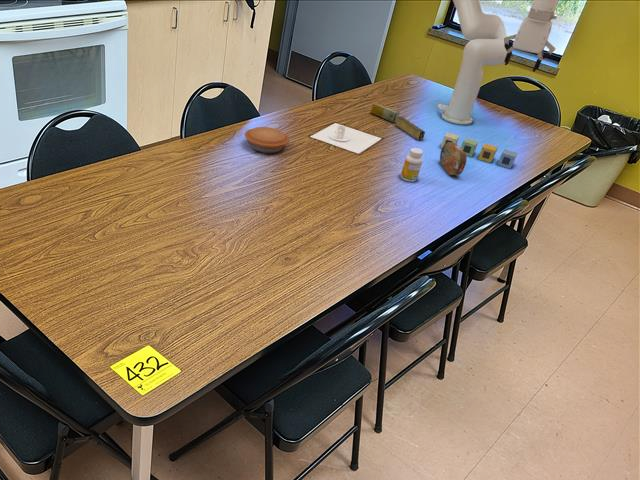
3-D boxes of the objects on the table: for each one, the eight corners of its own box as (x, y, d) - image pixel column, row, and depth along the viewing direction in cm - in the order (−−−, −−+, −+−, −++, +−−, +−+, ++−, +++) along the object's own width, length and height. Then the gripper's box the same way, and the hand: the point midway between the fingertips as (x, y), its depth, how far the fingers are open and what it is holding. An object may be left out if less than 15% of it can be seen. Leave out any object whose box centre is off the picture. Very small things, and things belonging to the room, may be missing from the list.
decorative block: (423, 140, 216) (425, 131, 214) (417, 140, 215) (420, 131, 213) (400, 125, 227) (402, 116, 225) (395, 125, 226) (397, 116, 224)
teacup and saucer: (335, 131, 215) (337, 120, 212) (354, 137, 211) (356, 127, 209) (324, 137, 209) (326, 126, 206) (343, 144, 205) (346, 133, 203)
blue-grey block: (497, 164, 204) (502, 152, 201) (499, 160, 207) (504, 148, 204) (510, 168, 202) (515, 156, 199) (512, 164, 206) (517, 152, 203)
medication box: (397, 122, 229) (400, 112, 227) (393, 123, 227) (397, 113, 225) (373, 112, 235) (376, 102, 233) (370, 112, 233) (373, 102, 231)
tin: (437, 160, 202) (444, 137, 197) (445, 160, 202) (453, 138, 197) (452, 179, 190) (461, 156, 185) (461, 180, 191) (470, 156, 186)
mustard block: (477, 159, 207) (482, 147, 204) (480, 155, 210) (485, 143, 207) (490, 162, 205) (495, 150, 202) (493, 158, 208) (498, 146, 205)
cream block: (440, 147, 212) (444, 135, 209) (443, 144, 215) (447, 132, 212) (452, 151, 210) (456, 139, 207) (455, 147, 213) (459, 135, 210)
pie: (292, 156, 193) (294, 142, 190) (247, 155, 190) (249, 141, 187) (282, 138, 205) (284, 124, 202) (240, 136, 202) (241, 123, 199)
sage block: (458, 153, 209) (463, 141, 206) (462, 149, 212) (466, 137, 210) (471, 157, 207) (475, 145, 205) (474, 153, 211) (478, 141, 208)
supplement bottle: (400, 173, 190) (408, 145, 184) (417, 176, 190) (425, 149, 184) (399, 179, 186) (407, 151, 180) (416, 183, 185) (424, 155, 179)
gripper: (568, 19, 192) (546, 71, 203) (516, 8, 198) (497, 60, 209) (565, 22, 187) (543, 75, 197) (511, 11, 193) (493, 64, 204)
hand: (520, 67), depth 203 cm, fingers open, 9 cm apart
